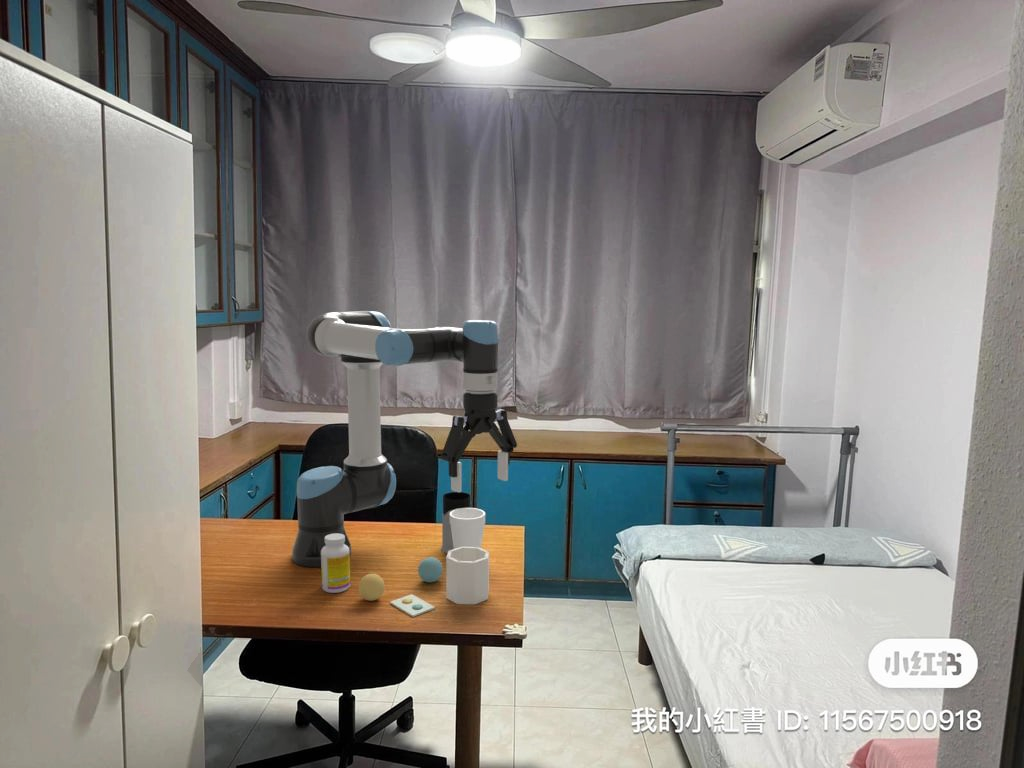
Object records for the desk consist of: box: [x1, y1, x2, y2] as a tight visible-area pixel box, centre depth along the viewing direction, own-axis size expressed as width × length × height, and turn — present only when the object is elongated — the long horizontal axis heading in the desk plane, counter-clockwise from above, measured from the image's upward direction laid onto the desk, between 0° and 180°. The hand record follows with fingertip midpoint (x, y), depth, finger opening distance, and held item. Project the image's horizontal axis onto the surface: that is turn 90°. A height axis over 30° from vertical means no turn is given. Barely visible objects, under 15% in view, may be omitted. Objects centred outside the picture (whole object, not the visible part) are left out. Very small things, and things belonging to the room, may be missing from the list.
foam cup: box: [450, 507, 486, 549], centre depth 186 cm, size 10×9×13 cm
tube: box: [445, 547, 490, 605], centre depth 166 cm, size 10×10×10 cm
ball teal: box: [417, 556, 444, 583], centre depth 174 cm, size 6×6×6 cm
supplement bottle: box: [320, 533, 351, 594], centre depth 169 cm, size 7×7×13 cm
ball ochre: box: [358, 573, 386, 602], centre depth 164 cm, size 6×6×6 cm
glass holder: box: [440, 491, 471, 554], centre depth 197 cm, size 9×14×15 cm, turn 7°
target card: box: [389, 593, 436, 618], centre depth 161 cm, size 9×6×1 cm, turn 43°
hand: (480, 485), depth 159 cm, fingers open, 13 cm apart
